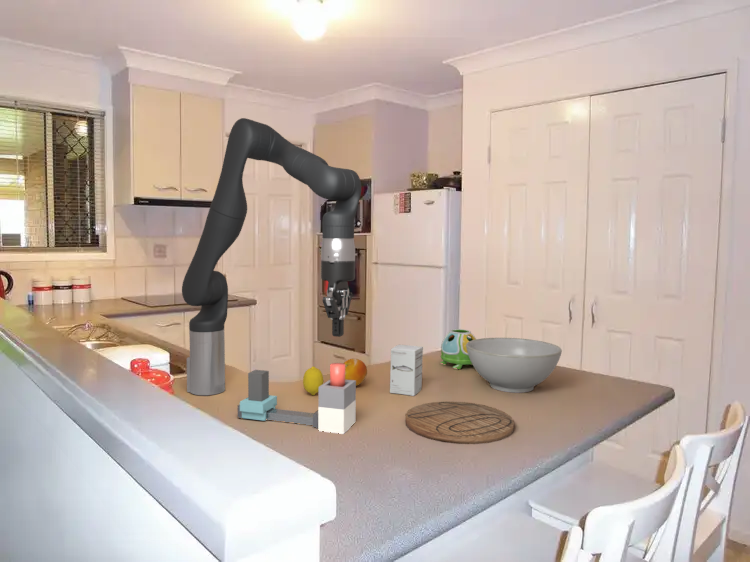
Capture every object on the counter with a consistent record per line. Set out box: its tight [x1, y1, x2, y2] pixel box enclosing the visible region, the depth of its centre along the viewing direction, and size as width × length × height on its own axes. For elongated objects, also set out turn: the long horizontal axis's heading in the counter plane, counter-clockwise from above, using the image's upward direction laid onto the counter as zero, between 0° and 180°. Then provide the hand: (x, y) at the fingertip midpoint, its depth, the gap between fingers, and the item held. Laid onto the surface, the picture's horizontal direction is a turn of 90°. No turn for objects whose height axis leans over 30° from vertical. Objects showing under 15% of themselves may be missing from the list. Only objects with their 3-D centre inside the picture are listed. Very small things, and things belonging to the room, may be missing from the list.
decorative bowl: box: [466, 337, 563, 394], centre depth 161 cm, size 27×27×12 cm
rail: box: [237, 403, 318, 429], centre depth 130 cm, size 20×5×3 cm, turn 73°
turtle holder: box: [440, 328, 477, 370], centre depth 186 cm, size 12×18×12 cm
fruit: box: [343, 357, 368, 387], centre depth 160 cm, size 8×8×8 cm
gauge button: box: [329, 362, 345, 387], centre depth 126 cm, size 3×3×6 cm
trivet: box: [404, 401, 515, 445], centre depth 129 cm, size 25×25×2 cm
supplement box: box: [389, 344, 424, 397], centre depth 155 cm, size 7×7×13 cm
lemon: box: [302, 366, 325, 396], centre depth 151 cm, size 6×6×8 cm
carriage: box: [239, 369, 278, 422], centre depth 132 cm, size 6×7×11 cm
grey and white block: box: [317, 379, 357, 435], centre depth 126 cm, size 6×8×10 cm
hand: (337, 335), depth 125 cm, fingers closed
